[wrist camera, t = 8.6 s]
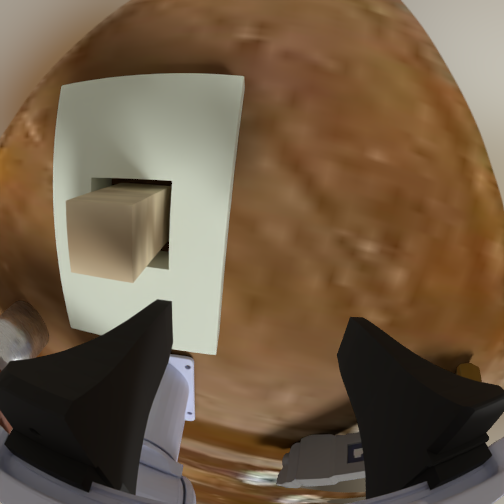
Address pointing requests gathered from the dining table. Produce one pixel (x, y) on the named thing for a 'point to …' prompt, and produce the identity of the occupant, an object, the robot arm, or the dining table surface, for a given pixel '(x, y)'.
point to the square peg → (117, 229)
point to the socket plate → (153, 168)
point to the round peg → (21, 333)
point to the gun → (334, 454)
